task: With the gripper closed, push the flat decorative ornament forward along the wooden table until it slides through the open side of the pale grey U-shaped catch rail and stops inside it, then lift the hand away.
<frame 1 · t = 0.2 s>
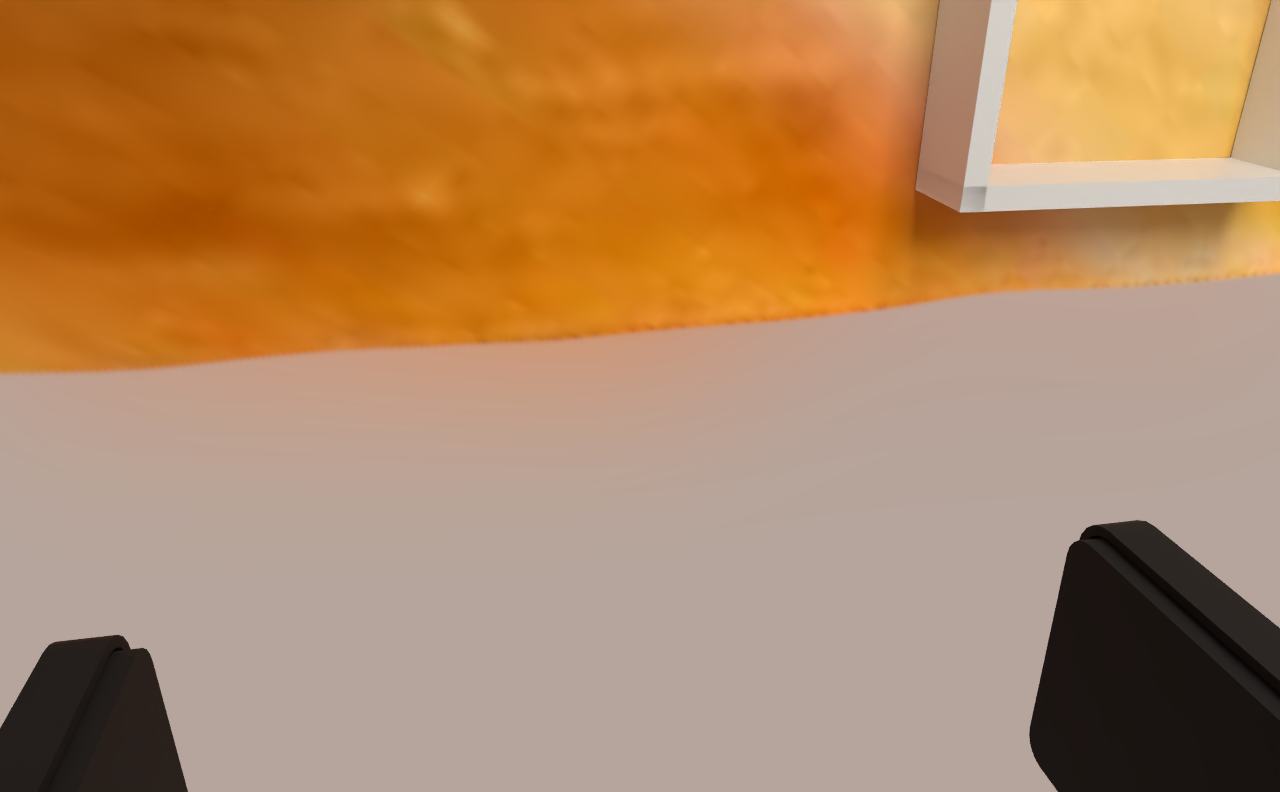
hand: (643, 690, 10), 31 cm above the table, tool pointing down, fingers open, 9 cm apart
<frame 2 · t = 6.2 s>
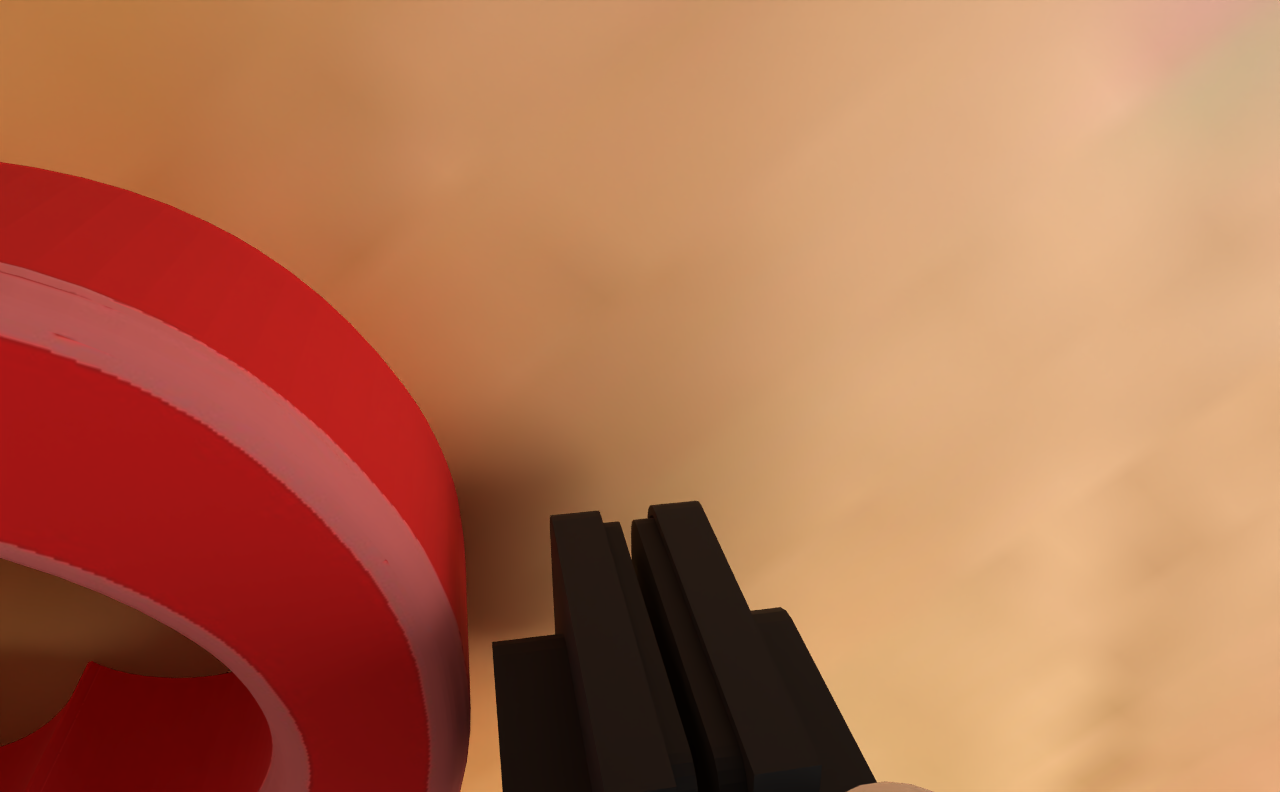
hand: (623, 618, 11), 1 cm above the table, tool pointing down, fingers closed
decorative ornament: (46, 565, 11), on the table, touching gripper
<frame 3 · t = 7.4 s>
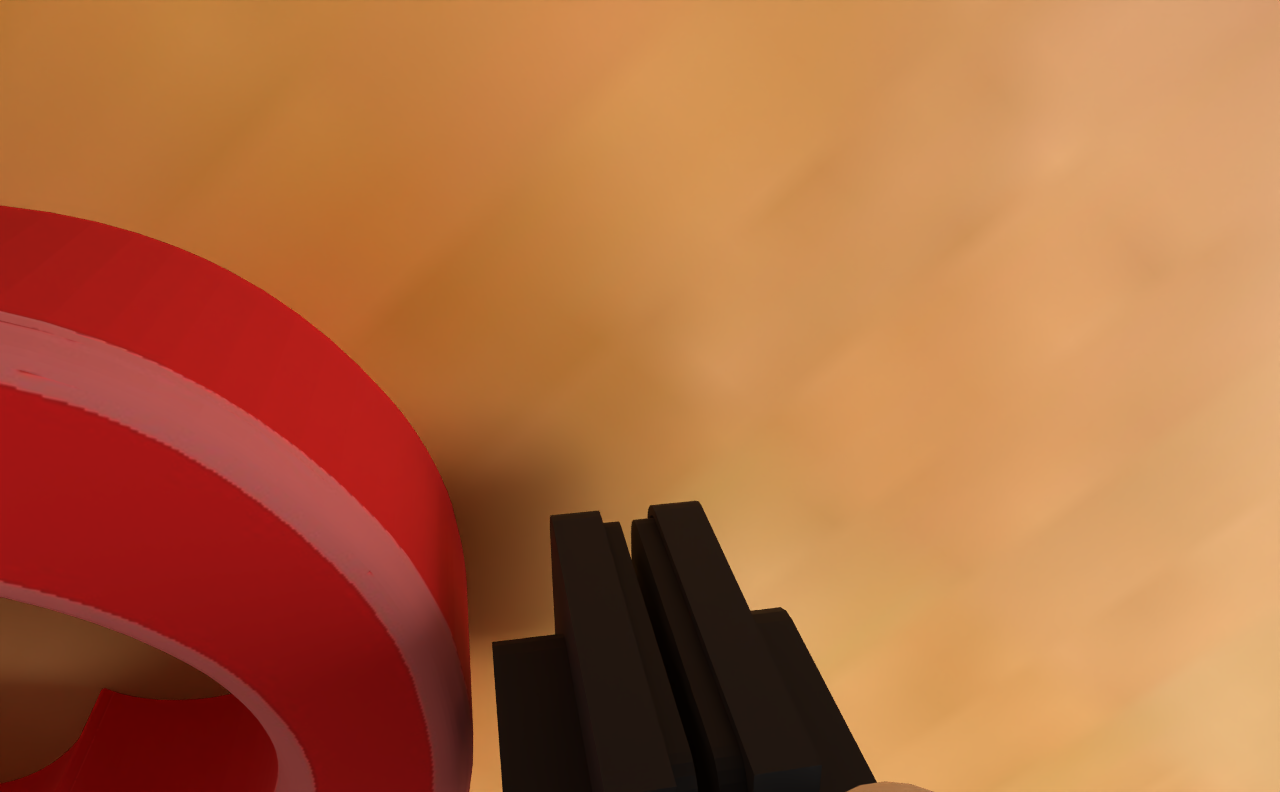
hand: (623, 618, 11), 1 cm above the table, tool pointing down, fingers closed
decorative ornament: (53, 595, 12), on the table
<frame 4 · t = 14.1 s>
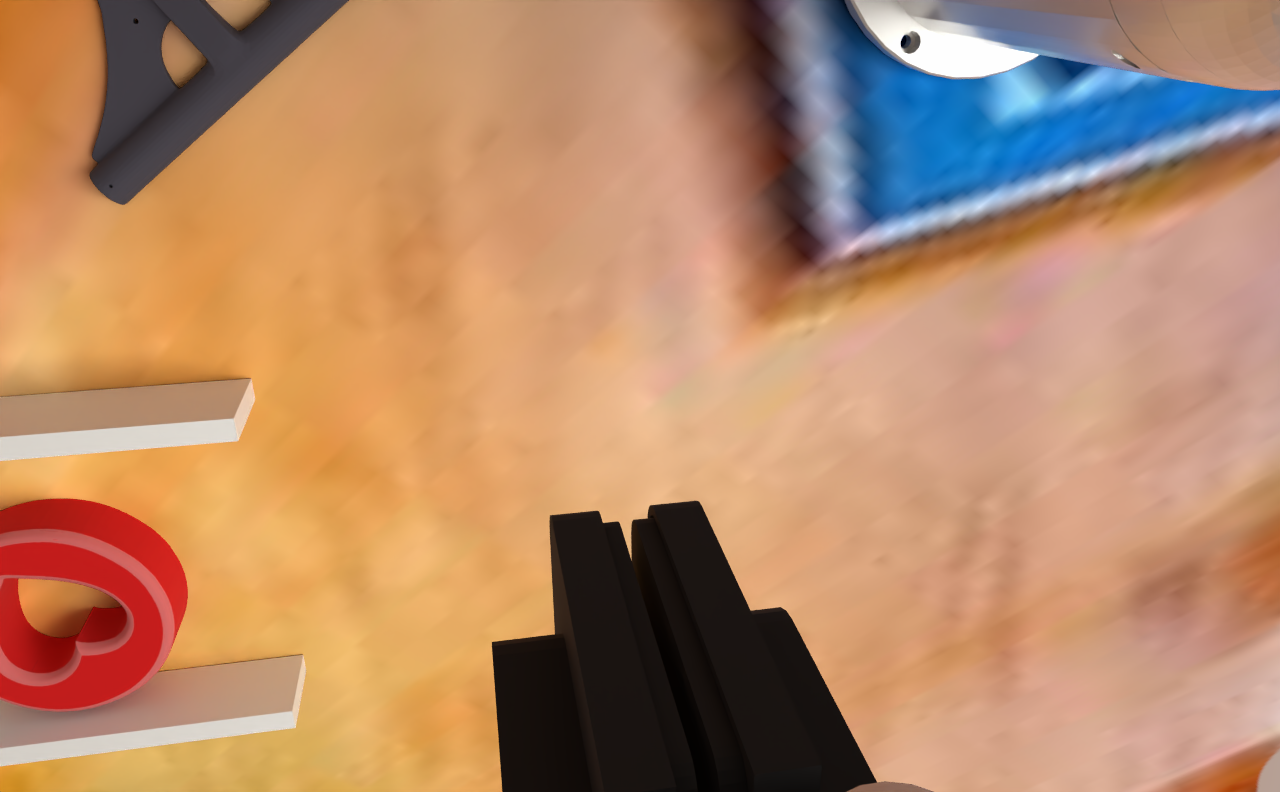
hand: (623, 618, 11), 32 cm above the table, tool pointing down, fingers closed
decorative ornament: (77, 583, 45), on the table
catch rail: (96, 553, 44), on the table
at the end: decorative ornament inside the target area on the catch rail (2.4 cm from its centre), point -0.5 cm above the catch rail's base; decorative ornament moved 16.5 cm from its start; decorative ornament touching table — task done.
